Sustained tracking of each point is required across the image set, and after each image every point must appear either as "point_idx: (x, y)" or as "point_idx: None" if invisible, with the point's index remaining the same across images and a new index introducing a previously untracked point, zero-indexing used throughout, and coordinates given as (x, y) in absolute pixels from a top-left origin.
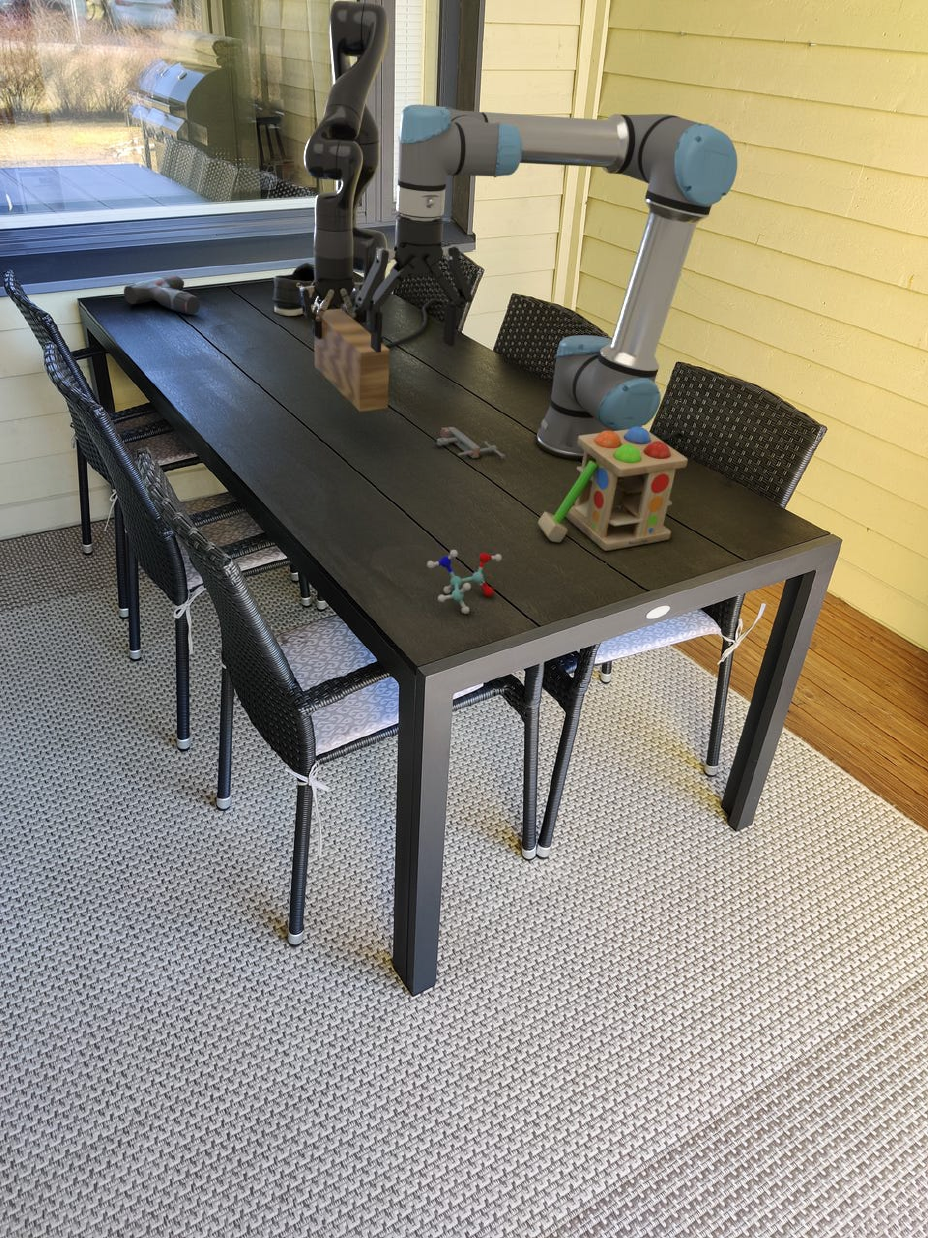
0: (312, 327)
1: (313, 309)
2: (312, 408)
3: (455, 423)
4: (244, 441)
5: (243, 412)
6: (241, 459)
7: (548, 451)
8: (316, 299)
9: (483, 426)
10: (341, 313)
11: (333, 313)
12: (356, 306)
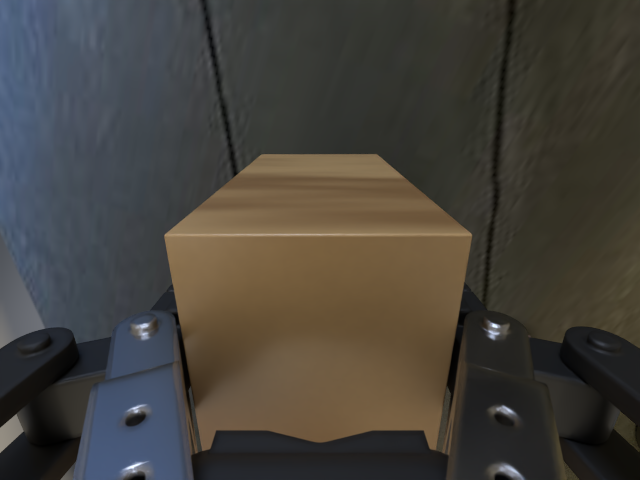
0: (167, 293)
1: (109, 363)
2: (290, 87)
3: (580, 277)
4: (79, 237)
5: (89, 57)
6: (68, 313)
7: (638, 435)
8: (86, 434)
9: (624, 306)
10: (404, 355)
11: (332, 341)
12: (592, 396)
